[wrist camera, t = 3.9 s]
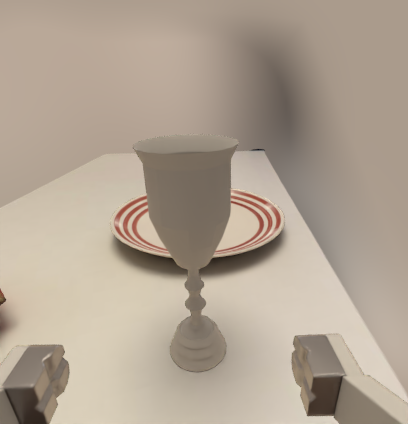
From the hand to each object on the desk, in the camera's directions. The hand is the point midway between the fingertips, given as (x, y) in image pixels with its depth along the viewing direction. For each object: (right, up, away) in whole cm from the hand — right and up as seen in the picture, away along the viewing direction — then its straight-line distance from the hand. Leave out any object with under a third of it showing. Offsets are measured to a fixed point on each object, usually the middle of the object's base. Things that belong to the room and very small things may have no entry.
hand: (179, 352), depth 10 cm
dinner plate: (0, +2, +38) cm, 38 cm away
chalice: (0, -7, +16) cm, 17 cm away
